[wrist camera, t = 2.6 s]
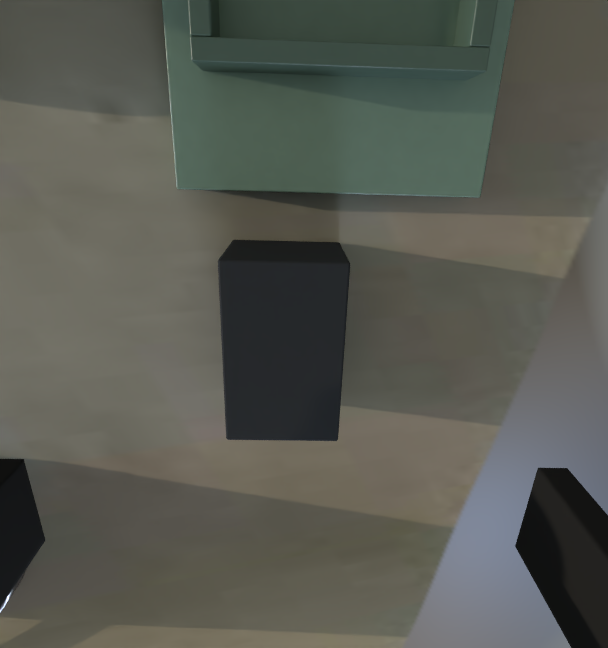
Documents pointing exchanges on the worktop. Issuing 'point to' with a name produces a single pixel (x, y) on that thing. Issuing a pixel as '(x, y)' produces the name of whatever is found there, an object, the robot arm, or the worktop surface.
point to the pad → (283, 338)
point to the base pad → (334, 94)
